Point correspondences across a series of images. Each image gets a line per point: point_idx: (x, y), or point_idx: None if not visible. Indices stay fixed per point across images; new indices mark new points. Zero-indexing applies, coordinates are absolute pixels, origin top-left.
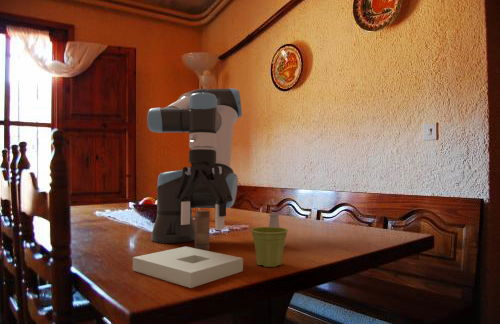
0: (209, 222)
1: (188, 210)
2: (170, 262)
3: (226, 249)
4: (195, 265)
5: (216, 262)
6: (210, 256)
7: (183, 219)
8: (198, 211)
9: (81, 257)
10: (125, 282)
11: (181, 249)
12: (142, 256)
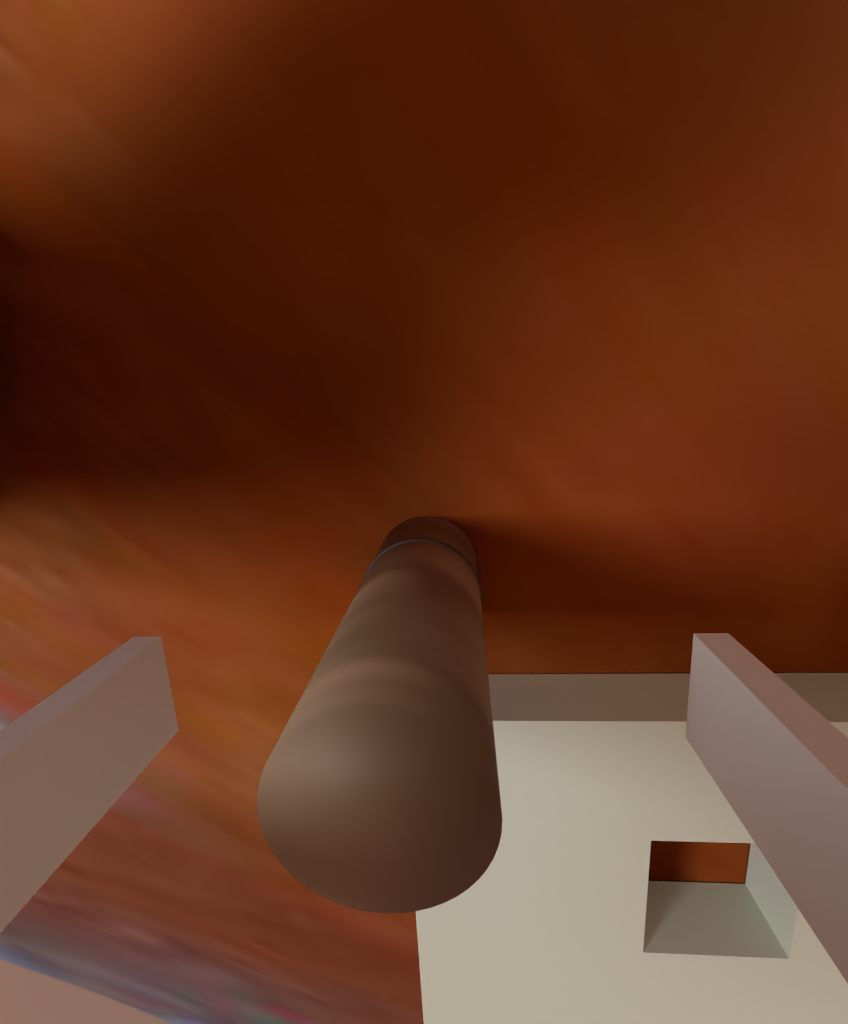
0: (460, 640)
1: (29, 776)
2: (671, 1000)
3: (419, 307)
4: (832, 974)
5: None
6: None
7: (139, 764)
8: (348, 860)
9: (45, 956)
10: None
11: None
12: (445, 1001)
